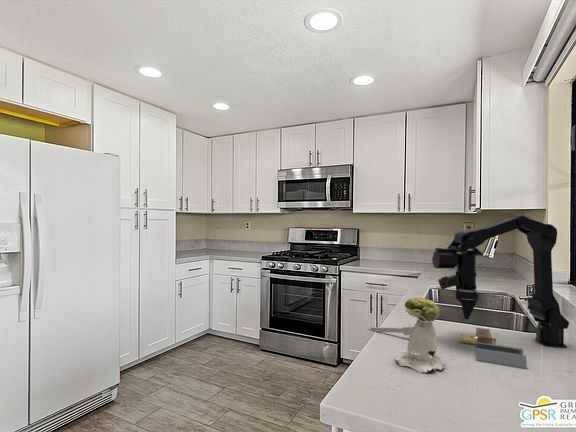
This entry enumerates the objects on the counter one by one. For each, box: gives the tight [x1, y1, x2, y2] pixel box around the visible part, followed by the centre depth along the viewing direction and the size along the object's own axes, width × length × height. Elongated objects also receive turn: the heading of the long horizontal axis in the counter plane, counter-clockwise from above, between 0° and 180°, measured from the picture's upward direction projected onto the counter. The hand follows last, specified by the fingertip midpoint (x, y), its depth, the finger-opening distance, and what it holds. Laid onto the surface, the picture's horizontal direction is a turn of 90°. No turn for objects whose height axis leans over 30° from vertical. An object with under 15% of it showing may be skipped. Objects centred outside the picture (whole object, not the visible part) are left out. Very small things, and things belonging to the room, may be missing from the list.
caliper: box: [367, 326, 414, 336], centre depth 120 cm, size 20×1×6 cm, turn 50°
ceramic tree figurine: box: [395, 297, 446, 374], centre depth 97 cm, size 12×13×18 cm
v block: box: [475, 342, 528, 369], centre depth 100 cm, size 12×7×3 cm, turn 64°
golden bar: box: [458, 333, 497, 346], centre depth 113 cm, size 10×3×3 cm, turn 65°
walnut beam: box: [475, 327, 494, 344], centre depth 112 cm, size 4×10×4 cm, turn 154°
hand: (466, 315), depth 114 cm, fingers open, 9 cm apart
